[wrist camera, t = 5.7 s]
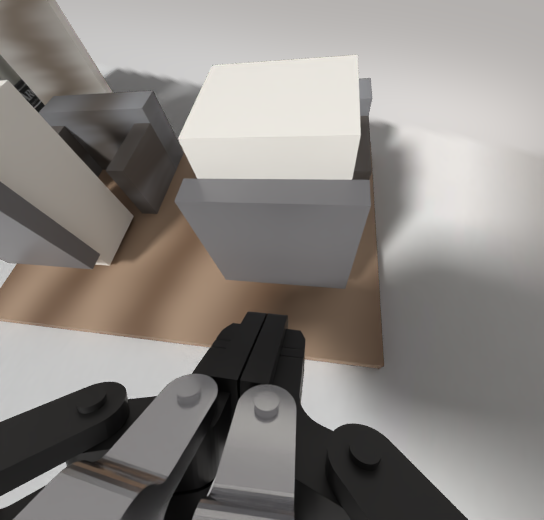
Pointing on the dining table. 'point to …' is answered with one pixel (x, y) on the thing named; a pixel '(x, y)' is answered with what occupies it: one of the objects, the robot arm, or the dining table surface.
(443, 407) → the dining table surface
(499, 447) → the dining table surface
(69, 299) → the button board
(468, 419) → the dining table surface
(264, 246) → the button
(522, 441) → the dining table surface
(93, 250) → the button
